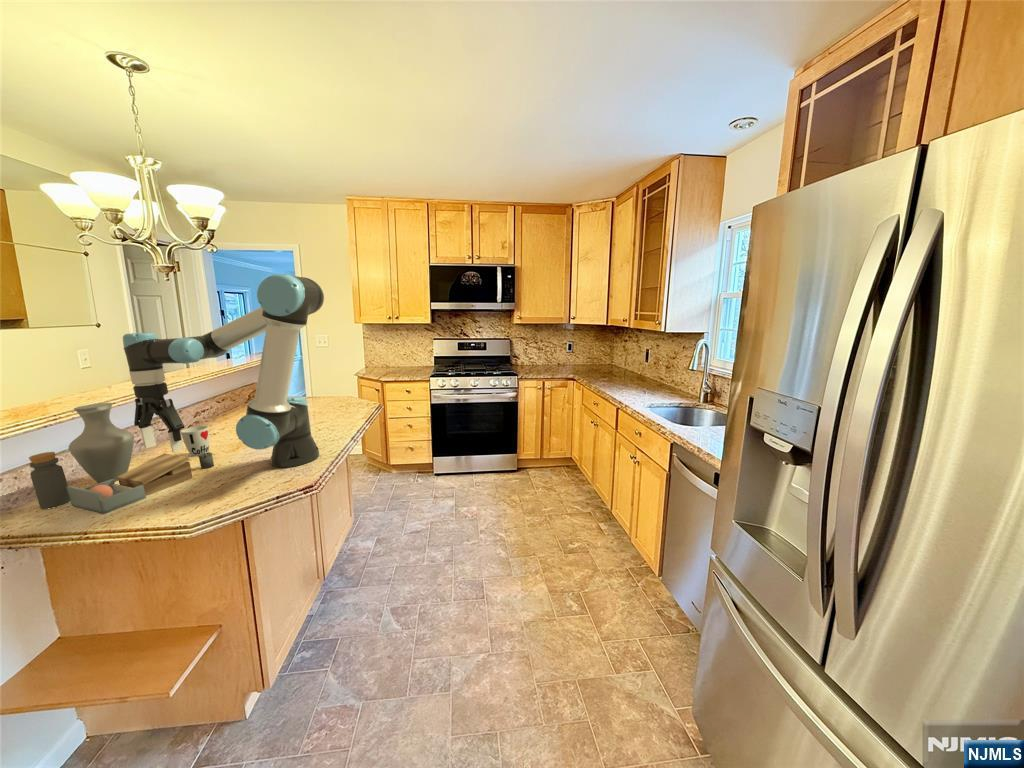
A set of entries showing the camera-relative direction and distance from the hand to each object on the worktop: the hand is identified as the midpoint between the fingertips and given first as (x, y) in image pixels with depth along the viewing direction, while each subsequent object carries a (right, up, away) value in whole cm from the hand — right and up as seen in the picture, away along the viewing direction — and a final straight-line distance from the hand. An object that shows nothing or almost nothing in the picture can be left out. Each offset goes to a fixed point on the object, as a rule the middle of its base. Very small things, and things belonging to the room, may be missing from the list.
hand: (164, 448), depth 121 cm
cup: (-9, -6, +24) cm, 27 cm away
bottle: (-20, -14, -12) cm, 27 cm away
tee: (+5, -8, +11) cm, 15 cm away
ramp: (-1, -11, -1) cm, 11 cm away
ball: (-5, -12, -12) cm, 18 cm away
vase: (-20, -11, +4) cm, 23 cm away
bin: (-5, -13, -12) cm, 18 cm away
